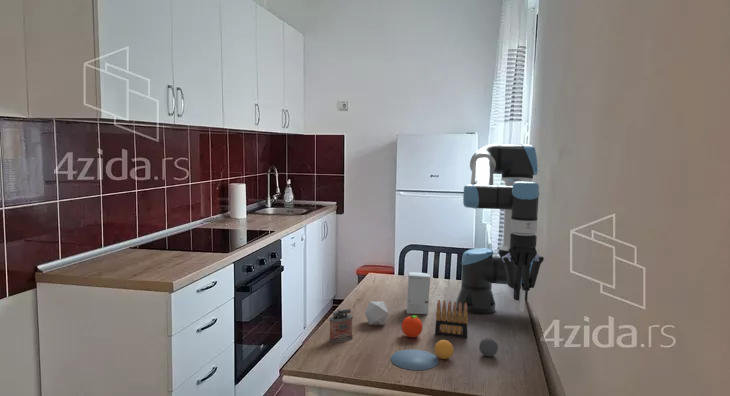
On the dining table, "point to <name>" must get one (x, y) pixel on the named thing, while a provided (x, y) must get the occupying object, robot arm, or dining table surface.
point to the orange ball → (443, 349)
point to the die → (376, 313)
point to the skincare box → (418, 293)
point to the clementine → (412, 326)
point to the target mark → (414, 359)
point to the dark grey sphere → (488, 347)
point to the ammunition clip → (451, 321)
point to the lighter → (341, 326)
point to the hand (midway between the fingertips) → (519, 310)
